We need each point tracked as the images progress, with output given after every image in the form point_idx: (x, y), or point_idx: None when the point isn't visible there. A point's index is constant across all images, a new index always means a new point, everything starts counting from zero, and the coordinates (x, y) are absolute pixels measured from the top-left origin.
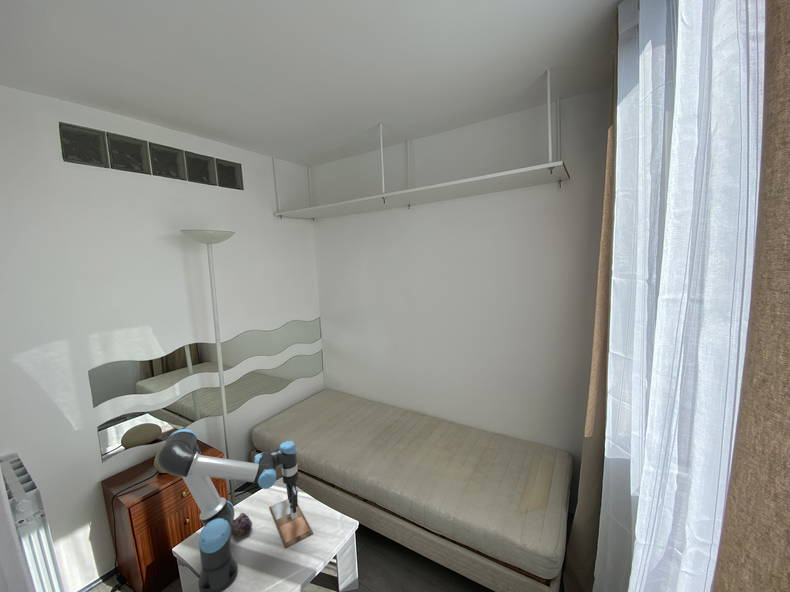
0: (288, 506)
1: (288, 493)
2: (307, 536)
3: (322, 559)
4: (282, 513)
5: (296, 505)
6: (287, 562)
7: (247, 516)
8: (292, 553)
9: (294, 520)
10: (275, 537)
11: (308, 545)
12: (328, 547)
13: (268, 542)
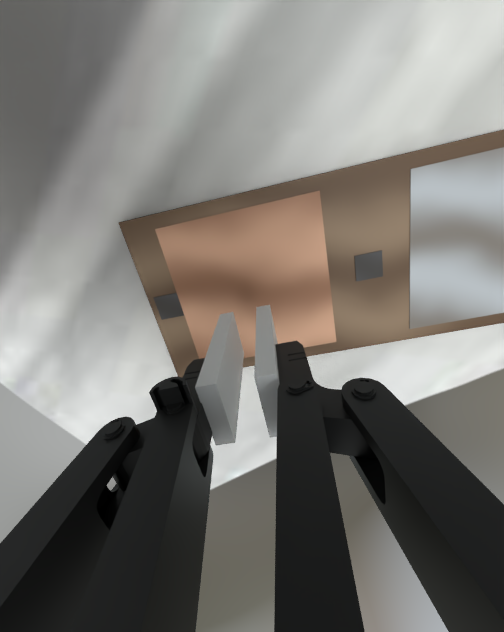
0: (493, 268)
1: (347, 567)
2: (169, 348)
3: (15, 387)
4: (449, 221)
5: (117, 483)
6: (15, 228)
7: None
8: (75, 261)
9: (325, 296)
10: (241, 157)
11: (111, 344)
12: (78, 417)
13: (213, 97)
